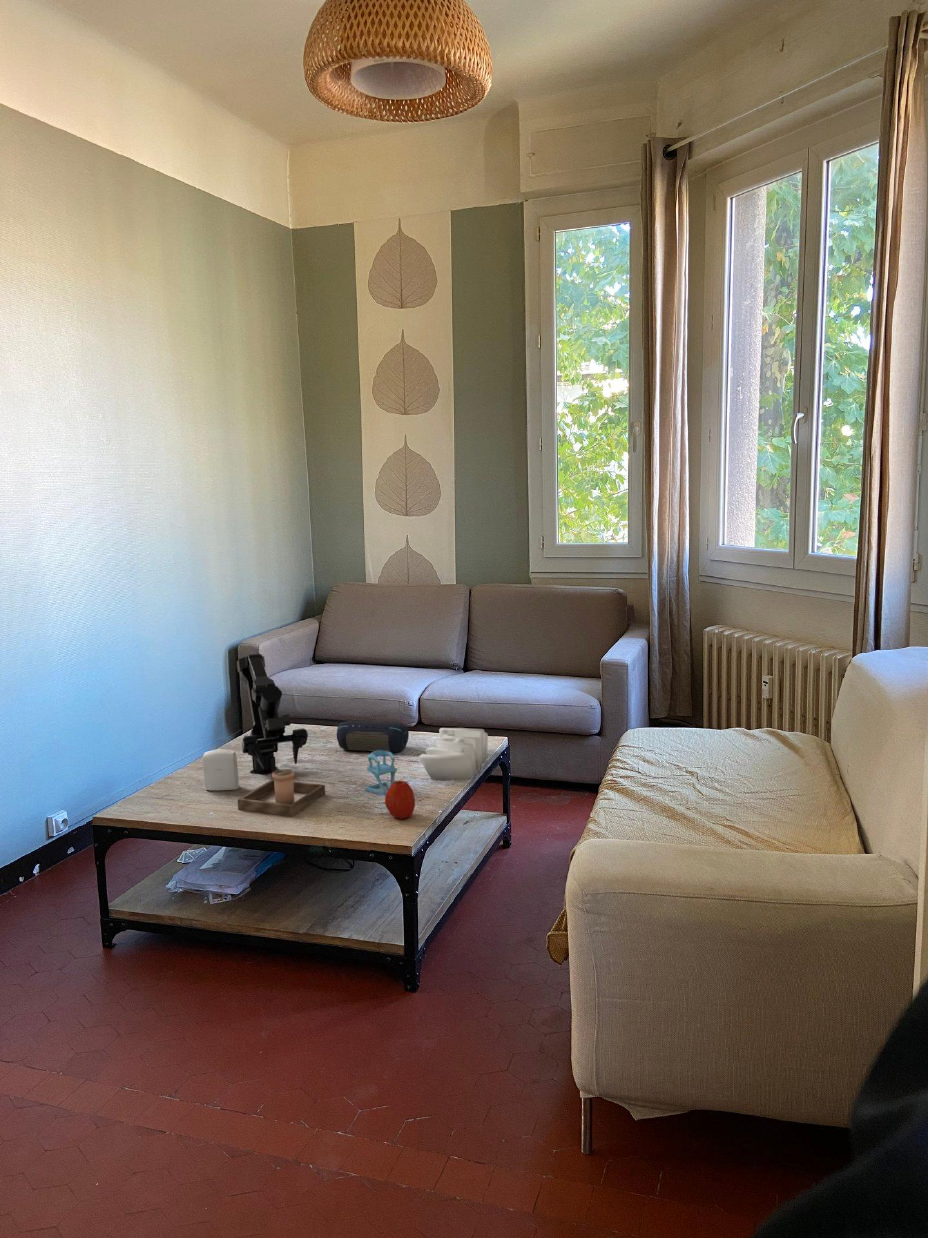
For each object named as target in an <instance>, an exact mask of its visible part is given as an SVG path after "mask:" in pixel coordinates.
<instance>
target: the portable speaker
mask: <svg viewBox="0 0 928 1238" xmlns="http://www.w3.org/2000/svg"><path fill="white" fill-rule="evenodd" d="M409 736H410V734H409V728H408V726H406V725H404V724H402V723H399V722H391V721H390V722H388V721H387V722H385V721H384V722H382V721H359V720H357V721H356V720H347V721H343V722H340V723H338V725H337V729H336V739H337V743H338V746H339V748H341V749H343V750H345V751H358V752H359V751H363V752H364V751H365V752H374V751H377V750H382V751H388V752H391V753H398V752H399V753H400V752H402V751H404V750H405V748H406V747H407V744H408V742H409Z"/></svg>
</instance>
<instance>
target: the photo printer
mask: <svg viewBox="0 0 928 1238" xmlns="http://www.w3.org/2000/svg"><path fill="white" fill-rule="evenodd" d="M202 765H203V767H202V768H203V777H204V778H203V779H204V788H205V791H207V790H209V791H233V790H234V791H235V790H238V789H239V788H240V783H239V769H238V768H239V767H238V757H237V753H236V751H234V750H230V749H224V748H223V749H220V748H219V749H212V750H208V751H205V752H204V753H203V755H202Z"/></svg>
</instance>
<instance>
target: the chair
mask: <svg viewBox="0 0 928 1238" xmlns="http://www.w3.org/2000/svg"><path fill="white" fill-rule="evenodd" d="M387 756H389V758H390V760H392V761H391V763H390V764H388V763H387V761H386V757H387ZM379 757H382V763H381V761H380V760H379V759H378V758H379ZM395 758H396V757H395V756H394V754H393V752H388V751H382V750H377V751H372V752H371V753H370V754H368V755H367V759H368V762H369V766H368V767H367V768H366V771H368V772H369V773H371V774H372V775H373V776H374V778H375V780H376V782H377V783H375V784H372V785H368V786H365V787H364V791H366V792H371V793H374V794H378V795H382V796H384V797H385V796H386V793H387V791H388V789H389V788H390V786H391V785H392V784H393V782H395V781H396V780H395V777H396V776H395V775H396V772H397V771H398V768H397V767H395V765H394V764H395V760H396V759H395ZM372 761H374V762H375V763H376V764H377V765H374V766H373V762H372ZM387 774H390V782H388V781H384V782H383V781H382V780H381V778H380V776H383V775H387ZM385 787H387V790H386V788H385ZM377 788H381V789H377Z"/></svg>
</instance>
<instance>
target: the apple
mask: <svg viewBox="0 0 928 1238" xmlns="http://www.w3.org/2000/svg"><path fill="white" fill-rule="evenodd" d="M390 785H391V784H390ZM386 791H387V793H386V796H385V795H384V804H385V807H386V809H387V811H388V812H389V814H390V815H391V816H392V817H394V818H395V819H399V820H400V819H401V820H403V819H407V818H410V817H411V816H412V814H413V813H414V810H415V806H416V799H415V798H416V797H415V794H414V791H413V788H412V787H411V786H410V785H409V783H407V782H406V781H404V780H394V782H393V784H392V785H391V786H390V788H389V789H388V788H387V790H386Z"/></svg>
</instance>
